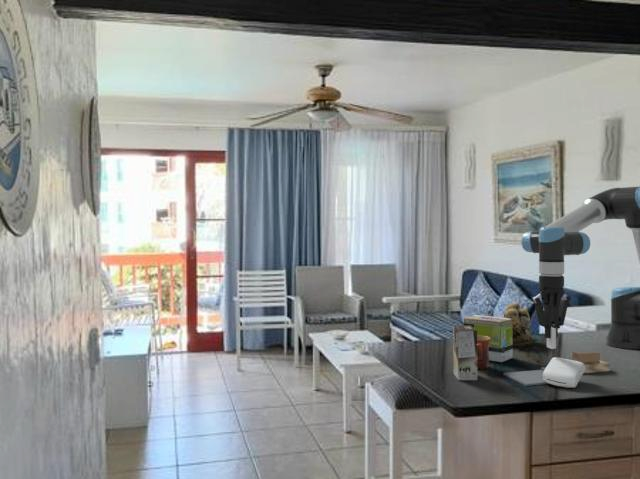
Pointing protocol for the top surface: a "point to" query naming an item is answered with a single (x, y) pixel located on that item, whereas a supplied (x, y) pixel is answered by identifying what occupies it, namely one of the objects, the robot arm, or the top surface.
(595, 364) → the rest
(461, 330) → the coffee box
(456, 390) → the top surface
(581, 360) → the tall brown carton
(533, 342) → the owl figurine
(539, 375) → the mat
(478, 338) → the mug
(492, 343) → the tea box
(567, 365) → the photo printer
